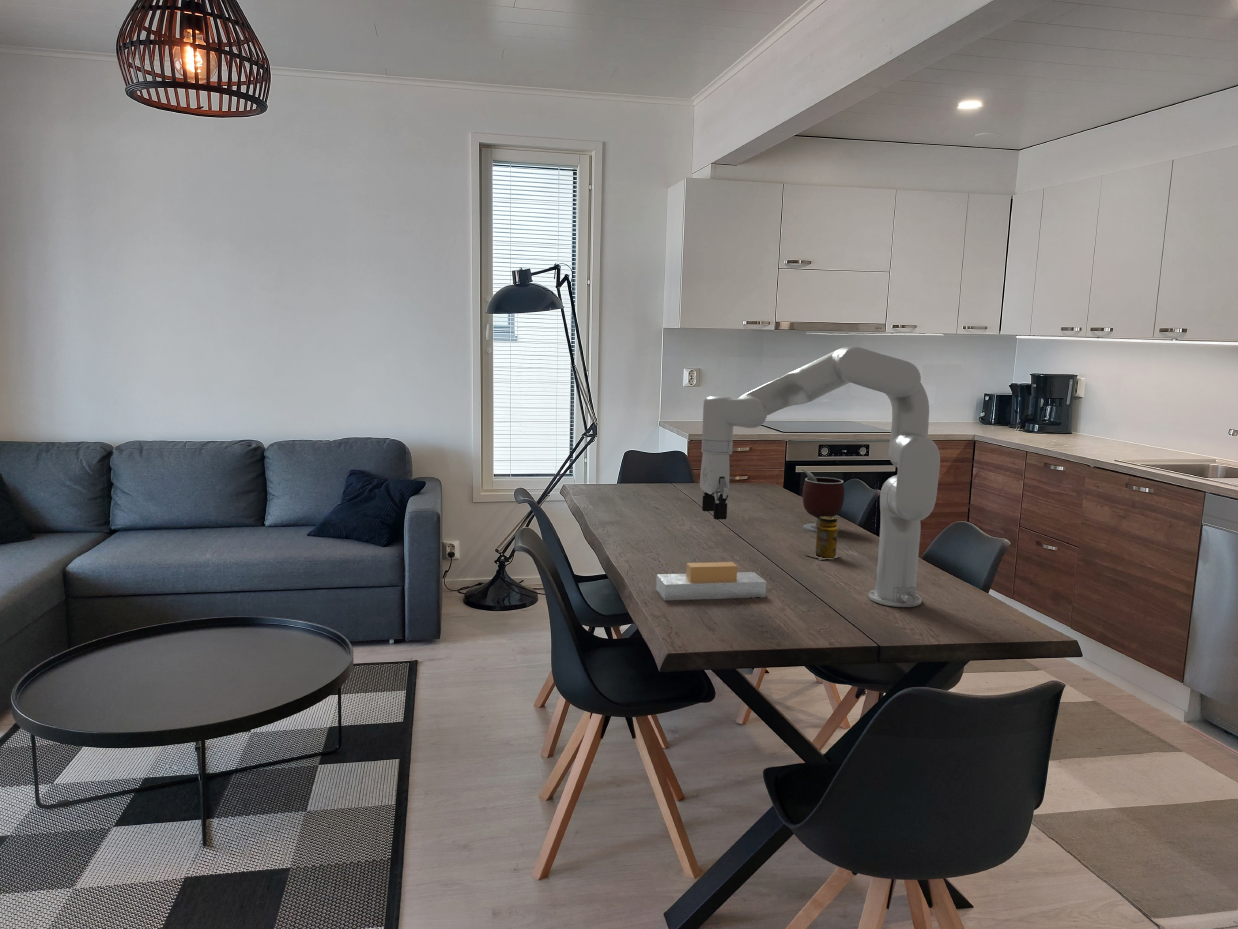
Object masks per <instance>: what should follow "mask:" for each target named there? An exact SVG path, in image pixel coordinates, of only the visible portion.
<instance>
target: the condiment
mask: <svg viewBox="0 0 1238 929" xmlns="http://www.w3.org/2000/svg"><path fill="white" fill-rule="evenodd" d="M837 522H838V518H836V517H835V516H833V517H831V516H821V517H819V524H818V526H817V532H816V537H815V538H816V539H815V552H814V553H816V556H818V557H822V558H834V557H836V556H837V545H838V543H837V541H838V533H839V532H838V528H837V527H838V526H837V525H838V523H837Z"/></svg>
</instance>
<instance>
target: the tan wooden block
mask: <svg viewBox="0 0 1238 929" xmlns="http://www.w3.org/2000/svg"><path fill="white" fill-rule="evenodd" d="M737 572H738V565H736V564H735V563H734V562H733V561H721V562H719V561H718V562H711V561H710V562H686V572H685V574H686V577H687V578H688V579H689V580H690V581H707V580H737Z"/></svg>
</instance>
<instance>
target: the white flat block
mask: <svg viewBox="0 0 1238 929" xmlns="http://www.w3.org/2000/svg"><path fill="white" fill-rule="evenodd" d="M655 581H656V582H655V583H656V586H655V591H656V592H657V593H658V594H659V595H660V597H661V598H662V599H663V600H664V601H688V600H690V601H691V600H717V599H718V600H721V599H724V600H725V599H726V600H727V599H748V598H749V599H754V598H755V597H760V598H766V597H767V580H765V579H764V578H762V577H761V576H760V575H758V573H756V572H755V571H748V572H747V571H744V572H743V571H742V572H741V571H739V572H738V571H737V580H707V581H690V580H689V579H688V578H687V577H686V573H665V574H663V573H661V574H656V580H655ZM750 597H752V598H750Z"/></svg>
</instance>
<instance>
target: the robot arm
mask: <svg viewBox="0 0 1238 929" xmlns="http://www.w3.org/2000/svg"><path fill="white" fill-rule="evenodd" d="M921 379H922V378H921V372H920V370H919V368H918V367H917V366H916V365H915V364H914V363H912V362H910V361H908V360H904V359H900V358H897V357H893V356H890V355H886V354H882V353H880V352H875V351H873V350H869V349H866V348H864V347H860V346H851V345H850V346H844V347H840V348H838V349H835V350H834V351H832V352H830V353H828V354H826V355H825V354H824V356H821V357H820V358H818V359H816V360H814V361H811V362H809V363H806V364H805V365H803V366H801V367H799V368H797V369H795V370H793V371H790V372H788V373H785V374H784V375H783V376H780V377H779V378H776V379H774V380H772V381H769V382H767V383H765V384H763V385H761V386H758V387H756V388H755V389H752V390H751V391H749V392H746V393H744V394H742V395H741V396H739V397H738V398H732V397H729V396H720V395H713V396H708V397H705V398H704V400H703V407H702V408H703V409H702V410H703V411H702V428H701V429H702V431H701V432H702V433H701V434H702V435H701V453H702V456H701V465H700V466H701V467H700V476H699V478H700V479H699V488H700V489H701V490H702V503H701V505H702V506H701V510H702V512H713V519H714V520H726V519H727V518H728V516H727V515H728V503H729V501H728V498H729V494H728V493H729V489H730V472H731V470H730V455H732V454H733V444H734V443H733V441H734V427H739V428H745V429H756V428H759V427H761V426H762V425H763V424H764V423H765V422H766V420H767V417H768V416H769V415H772V414H774V413H775V412H779V411H781V410H784V409H785V408H788V407H792V406H798V405H799V406H800V405H804V404H808V403H810V402H813V401H815V400H817V399H819V398H820V397H823V396H825V395H826V394H828V393H829V394H830V393H831V392H833V391H835V390H837V389H840V388H842V387H844V386H845V385H849V383H851V384H854V385H857V386H860V387H863V388H865V389H869V390H873V391H877V392H880V393H883V394H885V396H887V398H888V399H889V402H890V404H891V426H890V437H889V438H890V439H889V446H888V458H889V460H890V463H891V464H892V465H893V466H895V467H896V468H897V474H896V475H892V476H891V477H889V478H888V479H887V480H885V482H884V483H883V484H882V487H881V490H880V495H879V510H880V524H879V525H880V526H879V527H880V528H879V539H878V550H877V551H878V552H877V565H876V578H875V579H876V580H875V588H874V589H871V590H870V591H868V598H869V600H871V601H873V602H874V603H877V604H880V605H883V606H889V607H896V608H911V607H912V608H914V607H917V606H920V605H921V604H922V597H921V596H920V595H918V594H917V579H918V578H917V577H918V574H917V573H918V564H919V553H920V552H919V550H920V541H921V530H922V528H921V521H923V520H924V519H926V518H927V517H929V516H930V515H931V513H932V511H933V510H934V509H935V505H936V502H937V501H936V500H937V493H938V484H939V477H940V468H941V455H940V450H939V448H938V445H937V444H936V443H935V442H934V440H932V439H931V438H929V422H930V404H929V398H928V393H927V392H926V390H925V387H924V386H923V384H922V382H921V381H922V380H921Z"/></svg>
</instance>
